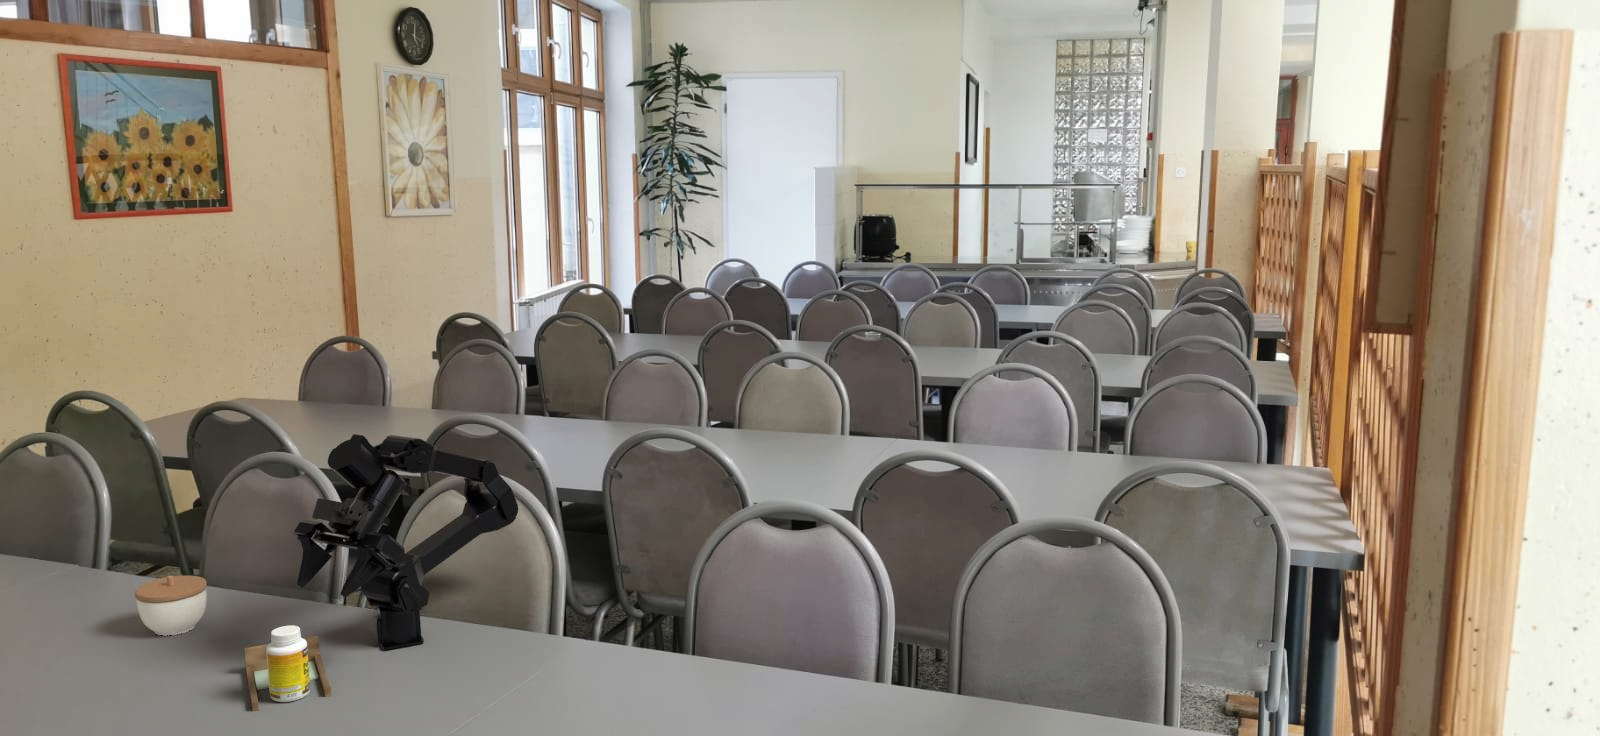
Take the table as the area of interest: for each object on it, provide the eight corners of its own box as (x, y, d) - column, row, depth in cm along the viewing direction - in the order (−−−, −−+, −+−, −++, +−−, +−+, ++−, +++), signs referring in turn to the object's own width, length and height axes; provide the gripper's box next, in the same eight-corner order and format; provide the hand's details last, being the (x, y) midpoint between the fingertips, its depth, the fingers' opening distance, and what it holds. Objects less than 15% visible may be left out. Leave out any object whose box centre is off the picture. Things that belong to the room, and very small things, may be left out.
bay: (319, 659, 186) (317, 635, 185) (331, 695, 173) (329, 670, 172) (246, 672, 181) (244, 648, 180) (252, 711, 168) (250, 685, 167)
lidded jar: (222, 625, 200) (218, 573, 199) (161, 646, 191) (155, 591, 190) (187, 613, 206) (183, 562, 204) (126, 633, 197) (120, 580, 195)
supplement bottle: (312, 699, 172) (307, 633, 170) (270, 706, 169) (265, 640, 168) (309, 684, 177) (304, 620, 175) (269, 691, 174) (264, 626, 173)
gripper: (300, 470, 184) (244, 556, 176) (387, 483, 176) (333, 574, 168) (341, 507, 192) (290, 591, 184) (427, 521, 184) (377, 610, 176)
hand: (320, 591), depth 177 cm, fingers open, 9 cm apart
